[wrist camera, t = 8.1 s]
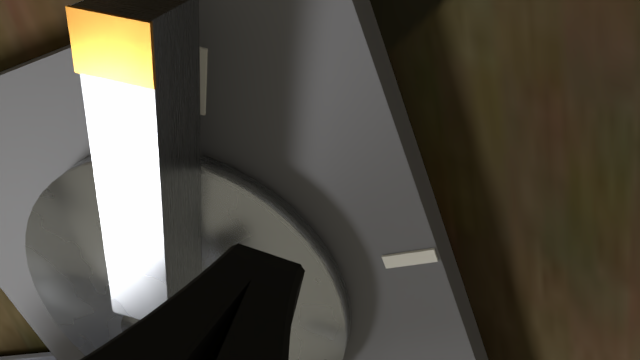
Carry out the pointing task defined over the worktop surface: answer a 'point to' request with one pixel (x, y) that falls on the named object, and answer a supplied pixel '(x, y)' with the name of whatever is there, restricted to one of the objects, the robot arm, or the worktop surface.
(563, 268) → the worktop surface
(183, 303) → the robot arm
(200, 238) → the dial
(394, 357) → the dial plate
